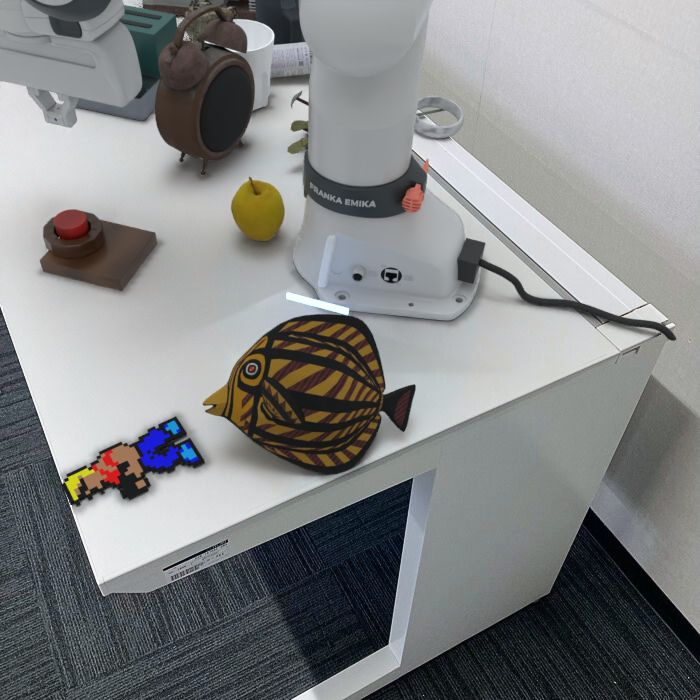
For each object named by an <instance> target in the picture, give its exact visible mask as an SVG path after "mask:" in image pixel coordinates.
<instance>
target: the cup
mask: <svg viewBox="0 0 700 700" xmlns="http://www.w3.org/2000/svg"><path fill="white" fill-rule="evenodd" d="M233 22H235V24H237V25H239V26H240V27H241V28H242V29H243V30H244V32H245V33H246V36H247V53H242V52H238V51H235V50H231V49H228V48H226V49H228V50H230V51H232V52H234V53H236V54H238V55H240V56H242V57H243V58H245V59H246V61H247V62H248V63H249V65H250V67H251V69H252V72H253V76H254V82H255V98H254V106H253V111H252V112H254V111H256V110H258V109H260V108H265V107H268V106H269V96H270V93H271V78H270V74H271V63H272V56H273V45H274V33H273V31H272V30H271V29H270V28H269V27H268V26H266V25H264V24H262V23H259V22H257V21H251V20H242V19H234V20H233ZM204 42H205V43H209V44H213V43H210V42H207V41H204ZM214 45H216V44H214ZM218 46H219V45H218Z"/></svg>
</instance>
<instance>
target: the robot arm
mask: <svg viewBox="0 0 700 700" xmlns="http://www.w3.org/2000/svg"><path fill="white" fill-rule="evenodd" d="M433 1H434V0H299V17H300V26H301V30H302V34H303V36H304V39H305V41H306V43H307V45H308V47H309V48H310V50H311V51H312V53H313V56H312V65H311V73H310V74H309V81H308V102H309V106H308V114H307V115H308V120H307V121H308V132H307V139H308V149H306V150H305V151H304V156H303V164H302V186H303V197H304V199H305V202H304V203H305V204H304V209H303V210H304V211H303V217H302V220H301V221H302V222H301V227H300V230H299V235H298V237H297V239H296V243H295V245H294V248H293V252H292V253H293V254H292V257H293V259H292V260H293V263H294V266H295V269H296V270H297V272H298V273H299V275H300V276H301V278H303V279H304V280H305V281H306V282H307V283H308V284H309V285H310V286H311V287H312V289H314V290H315V292H316V295H317V298H318V299H314V298H310V297H307V296H303V295H301V294H295V293H292V292H289V291H287V292H286V296H285V297H286V300H288V301H293V302H297V303H301V304H304V305H308V306H312V307H316V308H320V309H323V310H326V311H330V312H335V313H338V314H341V315H348V316H349V313H350V312H358V313H360V312H361V313H368V314H378V315H387V316H388V315H389V316H397V317H398V316H399V317H409V318H417V319H418V318H419V319H426V320H427V319H428V320H438V321H453V320H454V319H457V318H458V317H459V316H461V315H462V314H463V313H464V312H465V311H466V310H467V309H468V308H469V306H470V305H471V304H472V302H473V300H474V299H475V296H476V295H477V294H476V293H477V291H478V287H479V283H480V279H481V270H482V268H483V269H484V270H487V271H489V272H491V273H493V274H495V275H497V276H500V277H501V278H503V279H504V280H506V281H508V282H509V283H511V284H512V285H513V287H514V288H515V290H516V292H517V294H518V296H519V297H520V298H521V299H522V300H524V301H525V302H528V303H530V304H533V305H536V306H542V307H559V308H560V307H561V308H569V309H574V310H577V311H581V312H584V313H587V314H590V315H593V316H595V317H598V318H599V319H600V318H601V319H603V320H606V321H609V322H611V323H614V324H618V325H622V326H626V327H632V328H634V327H635V328H642V329H649V330H655V331H657V332H659V333H661V334H662V335H664V337H665V338H666V339H667V340H669V341H672V342H675V341H677V336H676V335H675V334H674V333H673V331H672V330H671V329H670V328H669V327H668V326H666V325H665V324H663V323H661V322H657V321H653V320H647V319H636V318H630V317H624V316H621V315H617V314H614V313H611V312H609V311H606V310H603V309H600V308H597V307H596V306H592V305H589V304H586V303H583V302H580V301H576V300H571V299H563V298H545V297H544V298H543V297H539V296H535V295H532V294H530V293H528V292H527V291H526V290H525V288H524V286H523V284H522V282H521V280H519V278H517V276H515V274H513V273H511V272H509V271H508V270H507V269H505V268H502V267H500V266H498V265H496V264H493V263H491V262H489V261H487V260H485V259H483V256H484V252H485V248H486V245H487V244H486V242H485V241H481V240H477V239H473V238H469V237H466V231H465V226H464V223H463V219H462V217H461V216H460V214H459V213H458V212H457V211H455V210H454V209H453V208H451V207H450V206H449V205H448V204H447V203H445V202H444V201H443V200H442V199H441V198H439V197H438V196H437V195H436V194H435V193H433V192H432V191H431V190H430V189H429V188H427V184H428V172H429V165H430V164H429V158H425V161H424V164H423V166H421V164H419V162H418V161H417V160H416V159H415V157H414V156H413V153H412V151H413V143H414V137H415V120H416V114H417V112H418V110H417V104H418V99H419V96H420V95H419V94H420V89H421V79H422V72H423V65H424V56H425V49H426V40H427V34H428V33H427V31H428V23H429V18H430V17H429V16H430V10H431V6H432V5H433V4H432V3H433ZM124 5H125V4H124V1H123V0H0V82H5V83H9V84H14V85H18V86H22V87H25V88H26V91H27V94H28V95H29V97H30V98H31V99H32V101H33V102H35V104H36V105H37V107H39V109H41V110H42V114H43V118H44V121H45V123H47V124H51V125H55V126H60V127H64V128H69V129H72V128H73V127H74V126H75V125H76V124H77V122H78V117H77V112H76V108H77V107H76V104H77V102H78V99H79V98H82V99H86V100H91V101H95V102H100V103H104V104H109V105H113V106H118V107H124V106H126V105H127V104H128V103H130V102H131V101H132V100H133V99H134V98H135V97H136V96H137V95H138V93H139V92H140V90H141V88H142V76H141V70H140V65H139V61H138V56H137V52H136V48H135V45H134V41H133V39H132V36H131V34H130V32H129V31H128V29H127V28H126V27H125V25H124V24H122V23H121V22H120V21H119V20H120V19H121V17H122V16H123V15H124V12H125V10H124ZM51 93H54V94H56V96H57V100H58V101H59V102H63V103H58V102H56V100H55V98H54V97H53V96H52V94H51Z"/></svg>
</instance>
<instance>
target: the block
mask: <svg viewBox="0 0 700 700" xmlns="http://www.w3.org/2000/svg"><path fill="white" fill-rule="evenodd" d="M81 211H82V212H84V213H85V215H86V218H87V222H88V225H89V232H88V233H87V235H86V236H83V237H81V238H79V239H74V240H65V239H61V238H60V237H59V236H58V235H57V232H56V229H55V225H54V218H55V216H53V217H51V218H50V219H49V220H48V221H47V222H46V223H45V224H44V225H43V228H42V238H43V241H44V244H45V248H46V249H47V251H46V252H45V253H44V254H43V256H42V257H41V258H40V259H39V263H40V266H41V269H42V272H44V273H48V274H52V275H56V276H59V277H60V276H61V277H64V278H68V279H72V280H77V281H80V282H84V283H88V284H93V285H95V286H100V287H104V288H107V289H112V290H116V291H119V292H122V291H123V290H124V289H125V288H126V286H127V285H128V283H129V282H130V281H131V280H132V278H133V277H134V276H135V274H136V273H137V272H138V270H139V269H140V267H141V266H142V265H143V264H144V263H145V261H146V259H147V258H148V256H149V255H150V254H151V253H152V252H153V250H154V248H155V247H156V245H158V239H157V233H156V232H155V231H151V230H147V229H142V228H137V227H134V226H129V225H125V224H122V223H118V222H113V221H109V220H105V219H100V218H99V217H98V216H97V215H96V214H94V213H92V212H88V211H84V210H81Z"/></svg>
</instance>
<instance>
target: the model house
mask: <svg viewBox="0 0 700 700" xmlns="http://www.w3.org/2000/svg"><path fill="white" fill-rule="evenodd" d="M209 1H210V2H211V4H212V5H215V6H221V4H225V5H227V7H230V6H231V7H233V6H235V7H236V10H237V13H238V19H242V20H251V21H256V22H257V17H256V7H255V0H209ZM190 3H191V0H142V8H143V9H149V10H154V11H159V12H165V13H170V14H175V15H176V16H185V12H186V11H188V9H189V5H190Z"/></svg>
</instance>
